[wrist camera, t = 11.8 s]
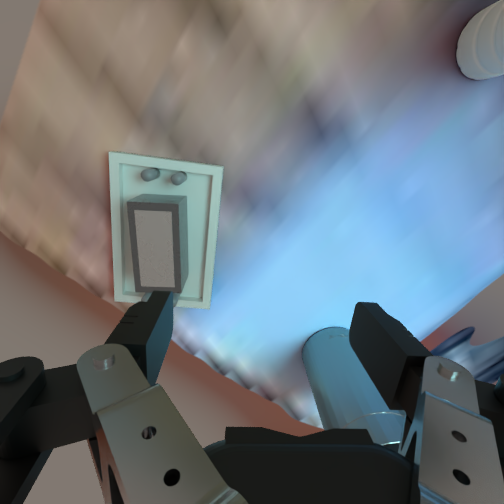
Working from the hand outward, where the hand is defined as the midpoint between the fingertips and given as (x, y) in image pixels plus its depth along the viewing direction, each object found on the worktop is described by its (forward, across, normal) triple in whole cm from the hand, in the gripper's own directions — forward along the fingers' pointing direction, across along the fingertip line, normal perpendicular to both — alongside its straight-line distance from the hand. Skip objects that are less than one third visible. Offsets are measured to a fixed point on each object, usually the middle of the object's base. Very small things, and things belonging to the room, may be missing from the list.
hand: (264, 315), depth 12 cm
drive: (+22, +9, +4) cm, 25 cm away
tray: (+24, +9, +4) cm, 26 cm away
